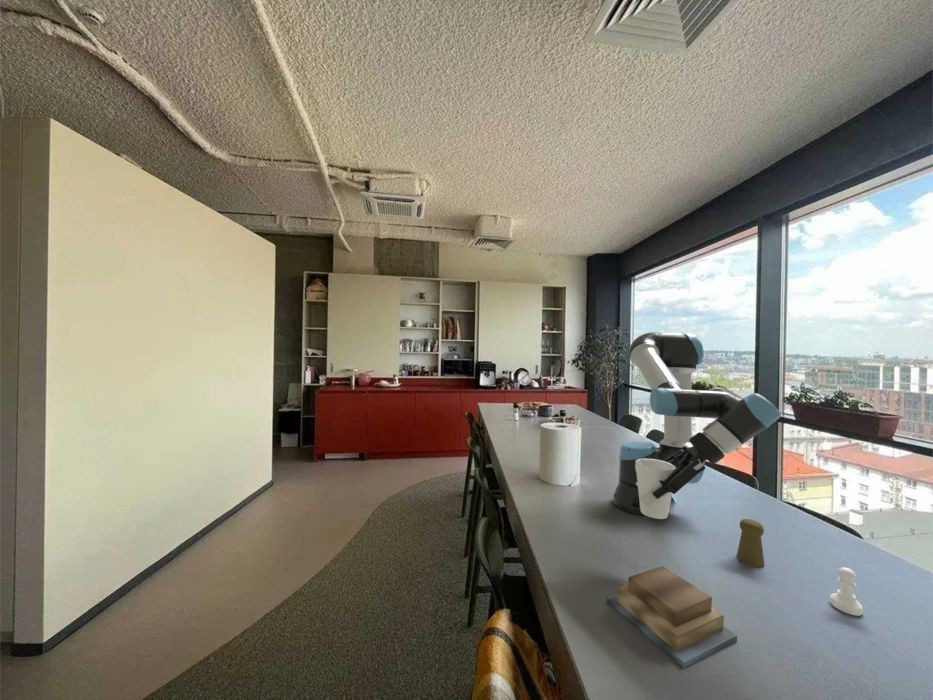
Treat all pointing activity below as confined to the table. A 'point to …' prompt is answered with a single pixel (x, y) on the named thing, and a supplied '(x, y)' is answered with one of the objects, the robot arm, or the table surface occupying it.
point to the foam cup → (647, 479)
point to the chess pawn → (846, 594)
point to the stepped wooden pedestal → (673, 615)
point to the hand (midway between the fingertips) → (641, 494)
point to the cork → (751, 543)
